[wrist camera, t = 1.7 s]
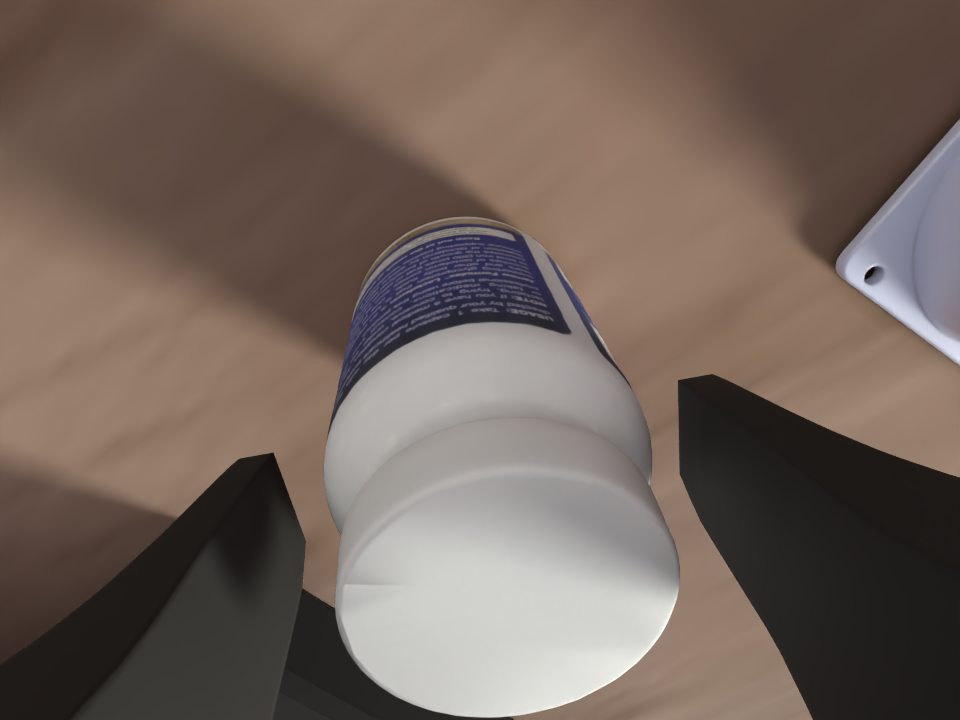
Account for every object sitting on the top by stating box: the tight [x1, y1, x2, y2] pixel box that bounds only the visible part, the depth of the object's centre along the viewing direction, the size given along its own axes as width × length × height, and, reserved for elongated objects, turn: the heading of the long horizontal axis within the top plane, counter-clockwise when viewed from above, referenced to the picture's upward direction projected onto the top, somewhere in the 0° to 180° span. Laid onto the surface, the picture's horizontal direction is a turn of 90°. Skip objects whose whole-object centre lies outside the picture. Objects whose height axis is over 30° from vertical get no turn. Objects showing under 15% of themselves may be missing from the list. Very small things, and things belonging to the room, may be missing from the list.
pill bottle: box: [324, 217, 680, 717], centre depth 13 cm, size 6×6×10 cm
